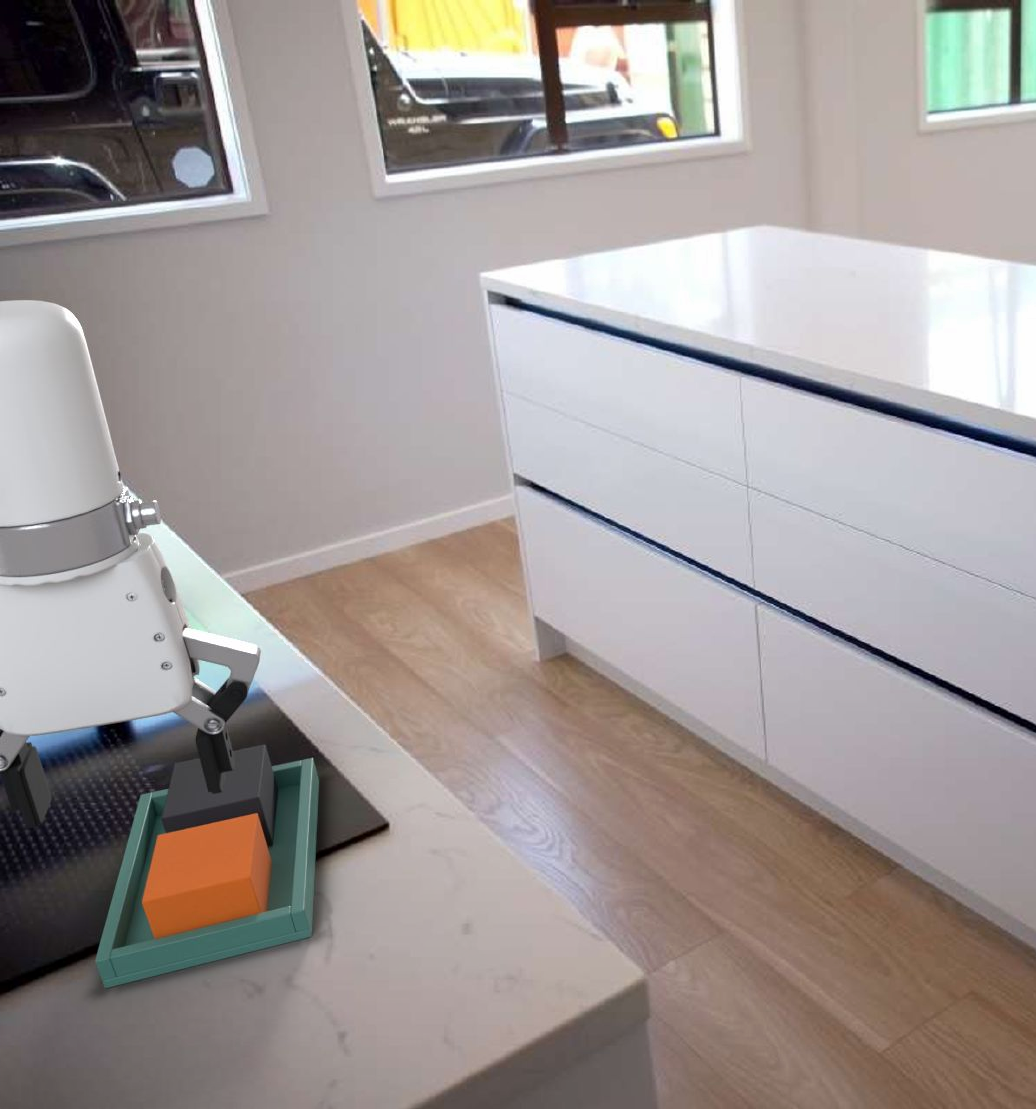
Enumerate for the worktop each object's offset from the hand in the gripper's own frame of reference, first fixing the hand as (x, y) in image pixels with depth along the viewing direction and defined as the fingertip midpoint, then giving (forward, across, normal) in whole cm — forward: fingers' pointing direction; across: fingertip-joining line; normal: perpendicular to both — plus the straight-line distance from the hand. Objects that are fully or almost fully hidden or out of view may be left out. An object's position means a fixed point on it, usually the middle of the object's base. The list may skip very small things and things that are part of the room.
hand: (130, 797), depth 75 cm
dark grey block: (+9, -3, -9) cm, 13 cm away
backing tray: (+10, -3, -5) cm, 11 cm away
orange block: (+9, -3, 0) cm, 9 cm away
